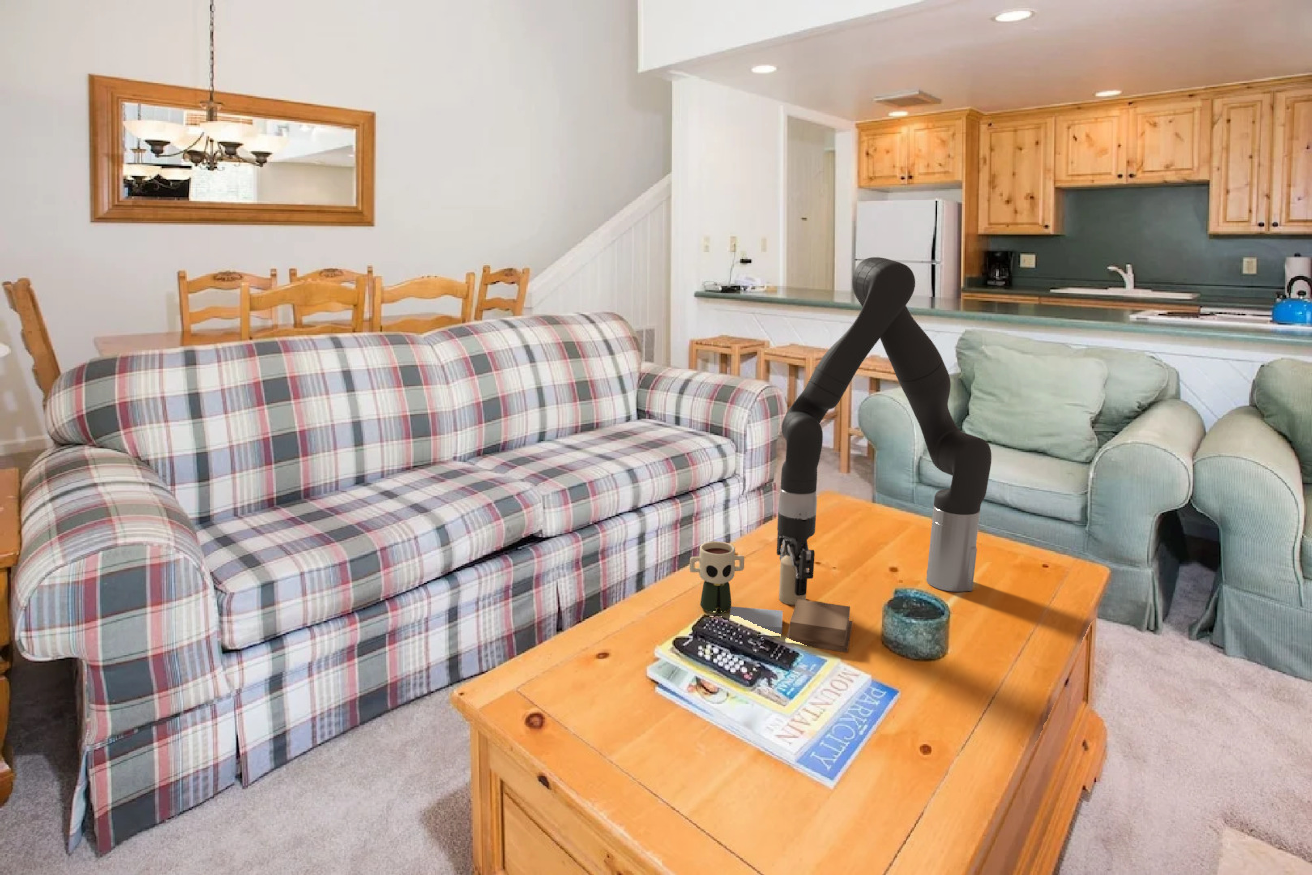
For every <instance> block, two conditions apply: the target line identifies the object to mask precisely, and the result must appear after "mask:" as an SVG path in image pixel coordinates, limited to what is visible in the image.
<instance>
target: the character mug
mask: <svg viewBox="0 0 1312 875" xmlns="http://www.w3.org/2000/svg"><path fill="white" fill-rule="evenodd" d="M736 561H739V562H738V563H739V564H738V566H736ZM695 562H699V565H698V567H695V565H696V564H695ZM744 569H745V556H744V555H742V554H740V555H739V554H738V555H736V547H735V546H734V545H733V544H731V543H728V542H724V541H707V542H703V543H702V544H701V545H700V546H699V555H698V556H691V557H690V559H689V573H698V574H699V577H700V578H701V580H702V581H703V586H702V591H701V597H700V607H701V608H702V610H703V611H706V612H709V613H713V611H716V612H717V609H720V612H721V611H722V612H721V613H725V612H728V611H730V610H731V606H732V595H731V593H732V592H731V586H730V582H731V581H732V580H733V579H734V577H735V572H741V571H744Z"/></svg>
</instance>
